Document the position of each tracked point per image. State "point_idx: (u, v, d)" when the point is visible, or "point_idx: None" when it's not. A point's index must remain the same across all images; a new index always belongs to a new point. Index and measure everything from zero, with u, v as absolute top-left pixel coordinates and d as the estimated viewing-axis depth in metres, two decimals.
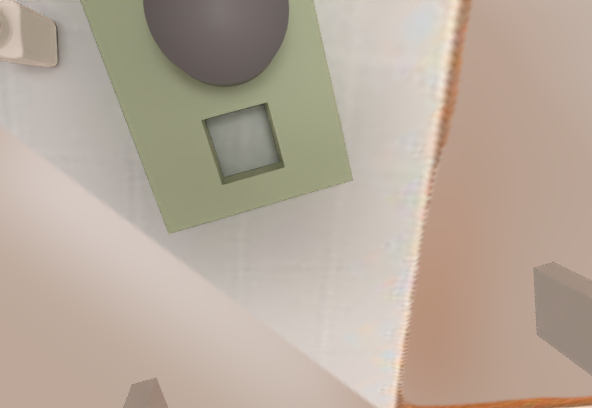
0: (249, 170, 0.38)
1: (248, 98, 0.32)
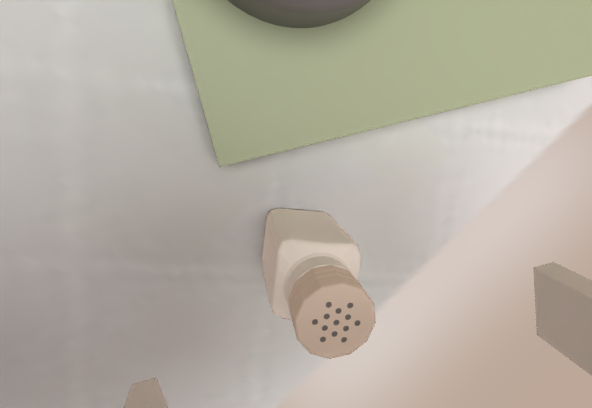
0: None
1: None
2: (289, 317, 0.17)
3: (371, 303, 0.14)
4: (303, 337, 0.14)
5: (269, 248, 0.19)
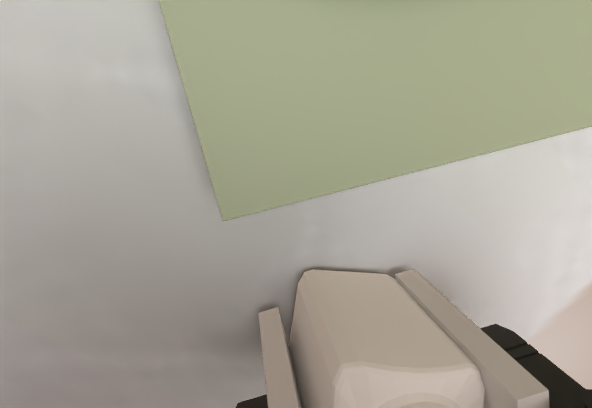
0: None
1: None
2: None
3: None
4: None
5: (307, 350, 0.11)
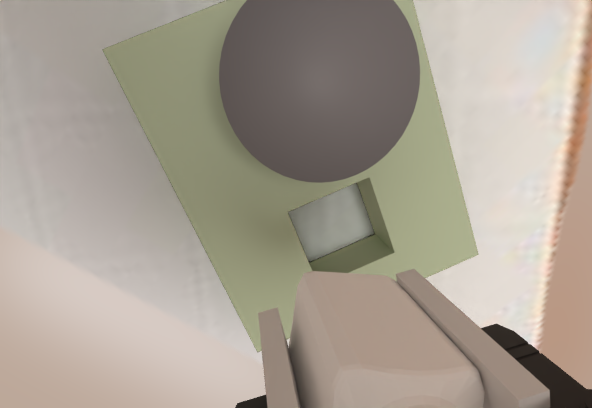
0: (338, 250, 0.30)
1: None
2: None
3: None
4: None
5: (307, 352, 0.11)
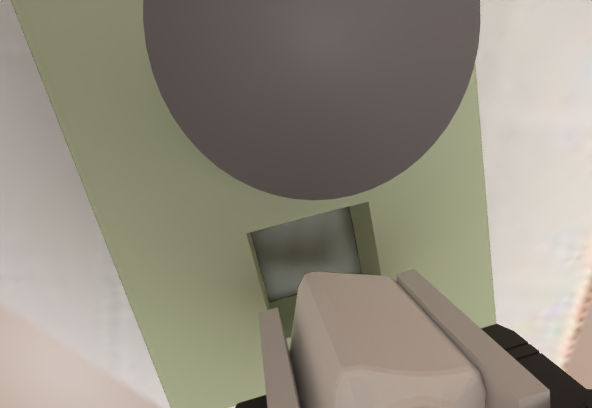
0: None
1: None
2: None
3: None
4: None
5: (308, 353, 0.11)
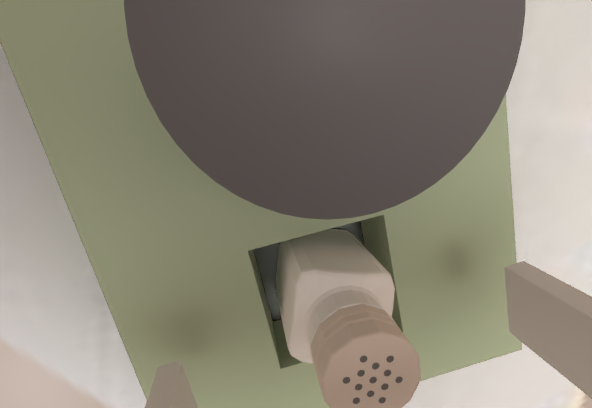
0: None
1: None
2: (310, 361, 0.15)
3: (416, 355, 0.11)
4: (332, 399, 0.11)
5: (284, 275, 0.17)
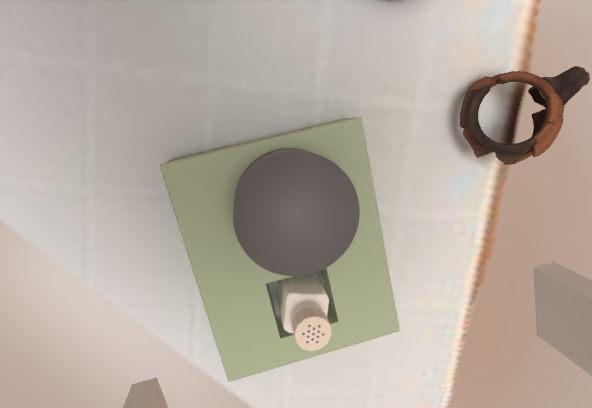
0: None
1: None
2: (292, 332, 0.34)
3: (329, 325, 0.31)
4: (298, 341, 0.31)
5: (282, 294, 0.36)
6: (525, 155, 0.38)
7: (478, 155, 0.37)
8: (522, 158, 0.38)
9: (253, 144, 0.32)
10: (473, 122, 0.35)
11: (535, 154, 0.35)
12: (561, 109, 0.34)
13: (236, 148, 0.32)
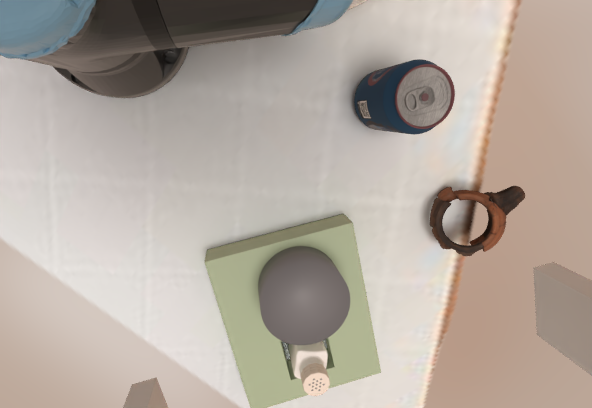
0: None
1: None
2: (301, 378, 0.46)
3: (328, 378, 0.43)
4: (305, 389, 0.43)
5: (292, 348, 0.48)
6: None
7: (443, 248, 0.48)
8: None
9: (272, 244, 0.44)
10: (438, 228, 0.46)
11: (485, 250, 0.47)
12: (503, 220, 0.46)
13: (260, 248, 0.43)
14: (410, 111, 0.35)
